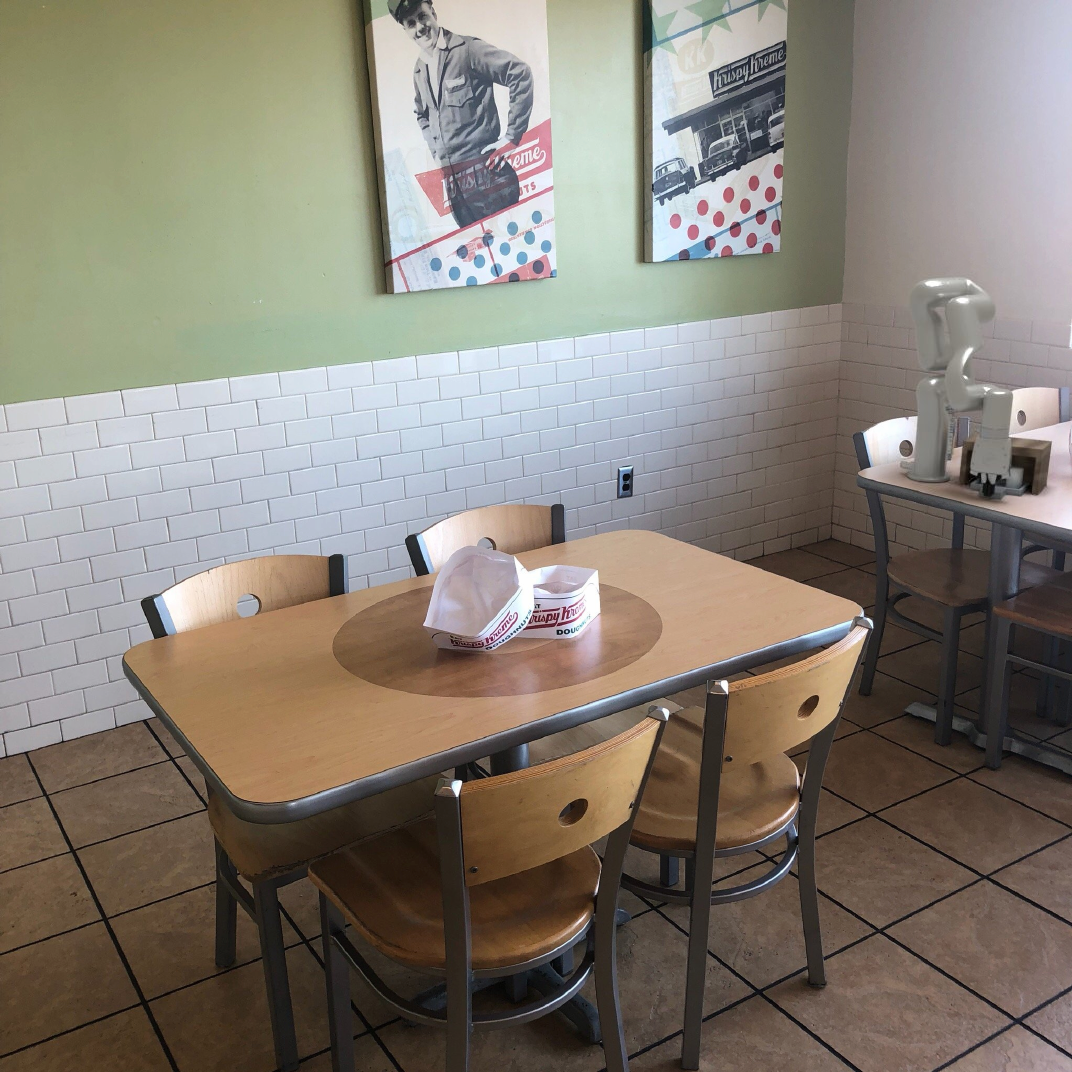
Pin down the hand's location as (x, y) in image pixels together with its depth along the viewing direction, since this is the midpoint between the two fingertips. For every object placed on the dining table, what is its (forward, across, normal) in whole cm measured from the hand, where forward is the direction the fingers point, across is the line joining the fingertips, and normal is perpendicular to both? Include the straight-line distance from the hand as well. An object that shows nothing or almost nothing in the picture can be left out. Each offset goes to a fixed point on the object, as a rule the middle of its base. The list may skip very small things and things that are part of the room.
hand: (987, 495), depth 303 cm
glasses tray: (+1, 0, +10) cm, 10 cm away
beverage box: (+1, -26, +45) cm, 52 cm away
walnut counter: (+1, 0, +17) cm, 17 cm away
